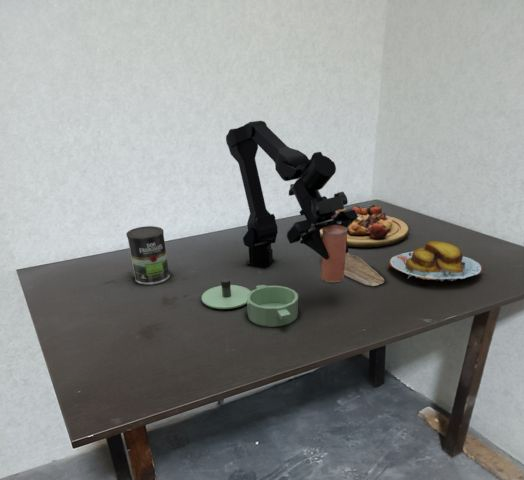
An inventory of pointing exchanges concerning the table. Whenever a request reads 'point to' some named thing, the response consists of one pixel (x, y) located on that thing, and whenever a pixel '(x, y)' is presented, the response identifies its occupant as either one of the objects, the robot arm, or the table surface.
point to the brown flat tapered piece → (361, 271)
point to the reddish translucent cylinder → (334, 253)
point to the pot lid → (225, 296)
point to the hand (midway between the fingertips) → (337, 255)
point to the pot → (272, 305)
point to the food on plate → (436, 262)
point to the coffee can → (148, 255)
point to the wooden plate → (373, 228)
